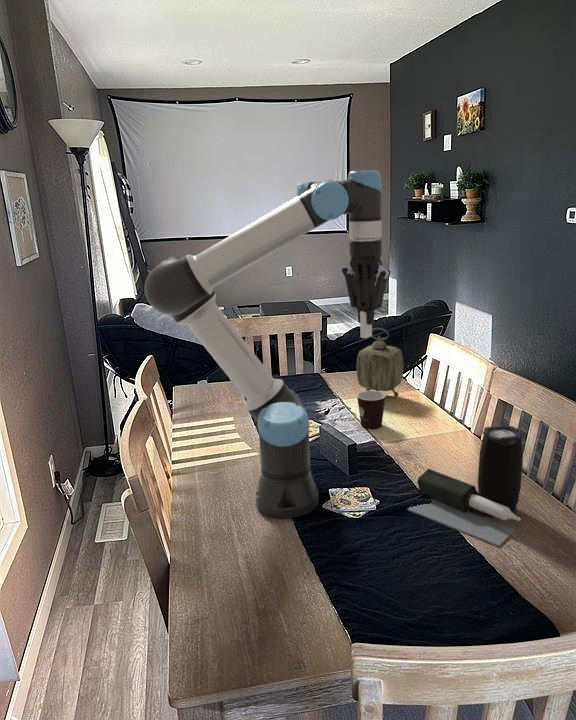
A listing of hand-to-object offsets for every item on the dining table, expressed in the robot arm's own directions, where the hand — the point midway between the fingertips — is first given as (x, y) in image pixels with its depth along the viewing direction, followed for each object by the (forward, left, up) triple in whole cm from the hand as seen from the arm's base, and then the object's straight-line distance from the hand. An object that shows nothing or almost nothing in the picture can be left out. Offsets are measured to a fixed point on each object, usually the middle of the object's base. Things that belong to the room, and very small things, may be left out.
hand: (366, 336), depth 145 cm
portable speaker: (+3, -34, -37) cm, 50 cm away
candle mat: (-6, -30, -36) cm, 48 cm away
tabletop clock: (+47, +30, -37) cm, 67 cm away
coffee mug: (+26, +18, -37) cm, 48 cm away
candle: (0, -17, -34) cm, 38 cm away
